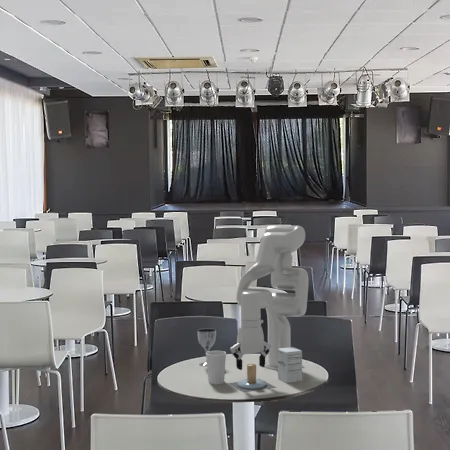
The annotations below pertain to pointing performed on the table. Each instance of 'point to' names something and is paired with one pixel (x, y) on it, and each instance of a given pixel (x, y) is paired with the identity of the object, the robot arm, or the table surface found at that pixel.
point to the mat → (251, 389)
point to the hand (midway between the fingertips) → (250, 367)
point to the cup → (216, 366)
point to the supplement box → (289, 364)
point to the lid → (251, 379)
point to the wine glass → (206, 339)
